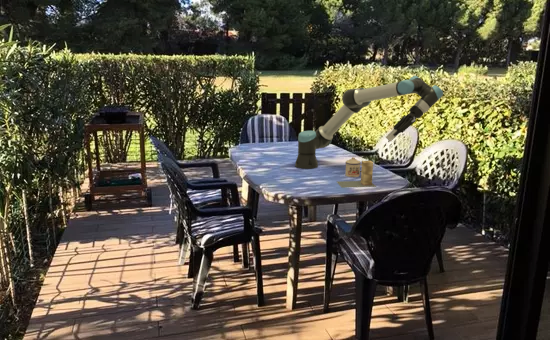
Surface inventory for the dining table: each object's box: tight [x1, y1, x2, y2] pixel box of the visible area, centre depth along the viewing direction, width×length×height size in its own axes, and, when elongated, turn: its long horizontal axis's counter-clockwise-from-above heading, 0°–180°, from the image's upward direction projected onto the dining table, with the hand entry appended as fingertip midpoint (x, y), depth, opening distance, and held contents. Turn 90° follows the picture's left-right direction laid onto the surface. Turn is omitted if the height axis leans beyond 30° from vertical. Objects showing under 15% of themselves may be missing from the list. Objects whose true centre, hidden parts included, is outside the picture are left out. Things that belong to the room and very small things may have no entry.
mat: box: [336, 180, 377, 189], centre depth 251 cm, size 20×13×1 cm, turn 96°
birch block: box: [360, 160, 374, 185], centre depth 250 cm, size 5×5×13 cm
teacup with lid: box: [345, 156, 362, 178], centre depth 270 cm, size 12×9×12 cm
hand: (388, 139), depth 247 cm, fingers open, 3 cm apart
